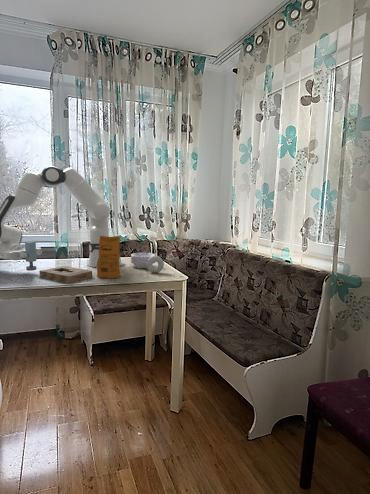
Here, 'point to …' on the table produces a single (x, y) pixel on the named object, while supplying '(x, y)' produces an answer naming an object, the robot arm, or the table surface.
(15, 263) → the table surface
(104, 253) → the coffee package
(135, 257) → the paper bowls
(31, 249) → the keyhole peg
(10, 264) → the table surface
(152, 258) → the donut
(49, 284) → the table surface
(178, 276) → the table surface
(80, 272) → the keyhole board
